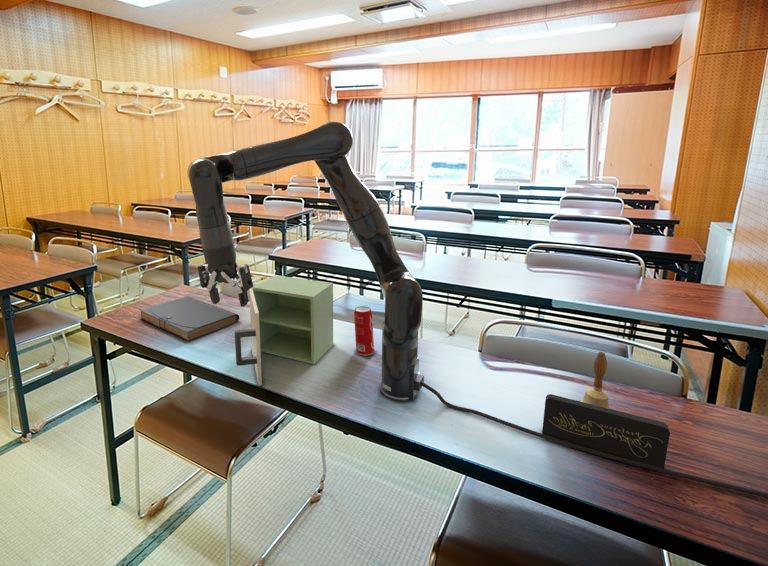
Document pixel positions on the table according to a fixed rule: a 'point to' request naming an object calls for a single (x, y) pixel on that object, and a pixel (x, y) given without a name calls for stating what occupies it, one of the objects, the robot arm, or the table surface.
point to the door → (255, 338)
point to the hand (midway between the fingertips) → (230, 304)
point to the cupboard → (295, 317)
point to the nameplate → (606, 430)
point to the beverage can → (364, 330)
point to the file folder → (188, 317)
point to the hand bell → (597, 384)
